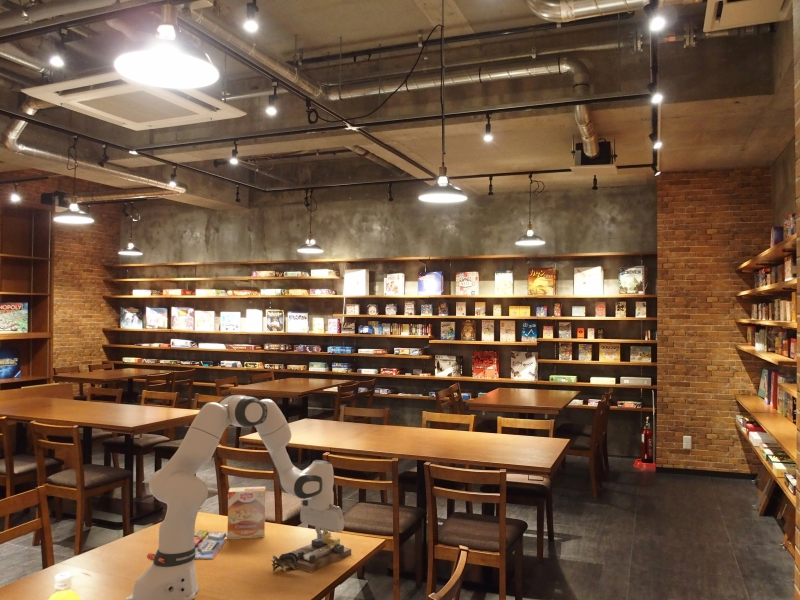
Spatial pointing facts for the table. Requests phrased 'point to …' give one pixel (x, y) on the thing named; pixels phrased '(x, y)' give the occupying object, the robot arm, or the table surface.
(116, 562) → the table surface
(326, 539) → the brass bolt
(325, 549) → the bar
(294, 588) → the table surface
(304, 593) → the table surface
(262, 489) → the coffeecake box
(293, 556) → the eagle figurine
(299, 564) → the base
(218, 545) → the puzzle board
